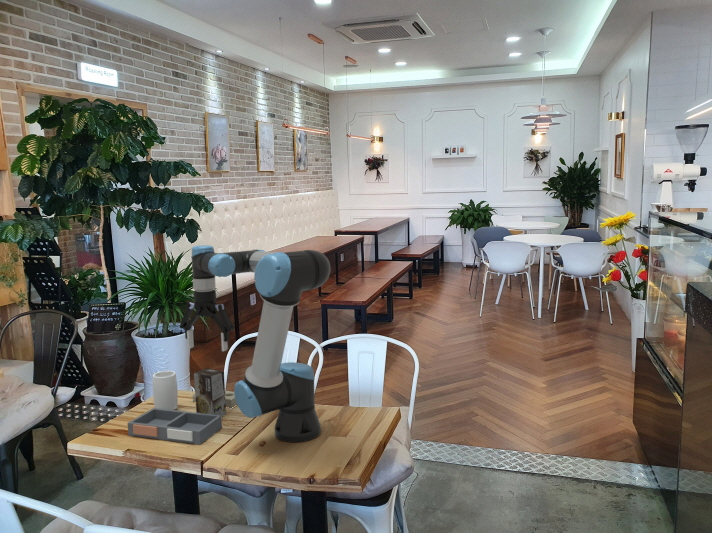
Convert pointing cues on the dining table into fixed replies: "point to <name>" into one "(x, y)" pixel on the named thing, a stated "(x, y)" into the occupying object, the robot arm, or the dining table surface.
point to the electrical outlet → (226, 399)
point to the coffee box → (210, 392)
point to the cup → (165, 390)
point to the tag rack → (175, 426)
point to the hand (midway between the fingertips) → (207, 349)
